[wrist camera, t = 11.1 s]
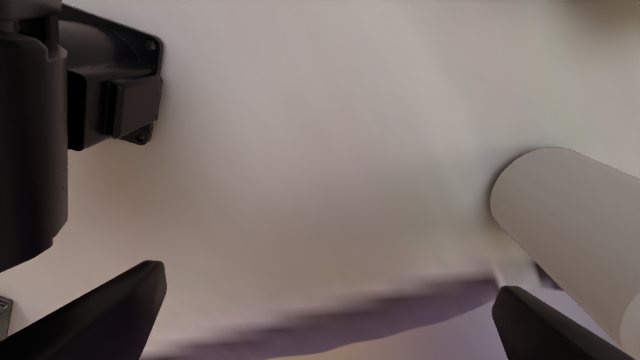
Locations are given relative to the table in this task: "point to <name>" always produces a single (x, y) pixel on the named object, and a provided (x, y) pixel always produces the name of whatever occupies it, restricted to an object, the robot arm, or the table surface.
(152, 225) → the table surface
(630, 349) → the beverage can
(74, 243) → the table surface
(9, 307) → the mini dv tape
